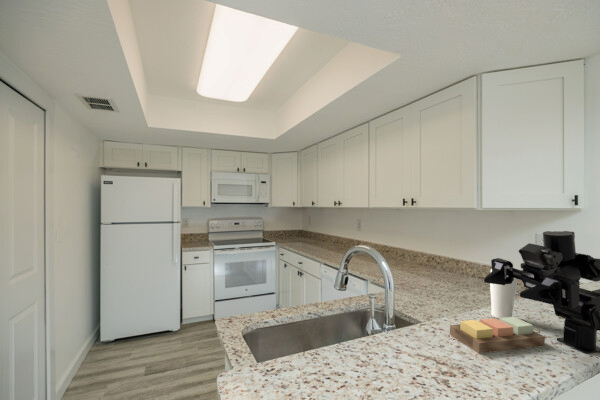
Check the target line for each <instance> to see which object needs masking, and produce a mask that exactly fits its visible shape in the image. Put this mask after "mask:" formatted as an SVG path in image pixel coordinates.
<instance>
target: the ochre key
mask: <svg viewBox="0 0 600 400" xmlns="http://www.w3.org/2000/svg"><path fill="white" fill-rule="evenodd" d="M460 329H461V330H462V331H464V332H466V333H467V334H469V335H471V336H472V337H474V338H475V339H483V338H493V329H492V328H490V327H489V326H487V325H485V324H483V323H481V322H480V321H479V320H477V319H471V320H470V319H469V320H460Z"/></svg>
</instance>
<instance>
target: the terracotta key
mask: <svg viewBox="0 0 600 400" xmlns="http://www.w3.org/2000/svg"><path fill="white" fill-rule="evenodd" d="M479 322H481V323H483V324H485V325H487V326H489V327H490V328H492V329H493V335H495V336H497V337H503V336H513V327H512V326H510V325H508V324H506V323H504V322H502V321H500V319H497V318H495V317H493V318H483V319H480V321H479Z"/></svg>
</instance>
